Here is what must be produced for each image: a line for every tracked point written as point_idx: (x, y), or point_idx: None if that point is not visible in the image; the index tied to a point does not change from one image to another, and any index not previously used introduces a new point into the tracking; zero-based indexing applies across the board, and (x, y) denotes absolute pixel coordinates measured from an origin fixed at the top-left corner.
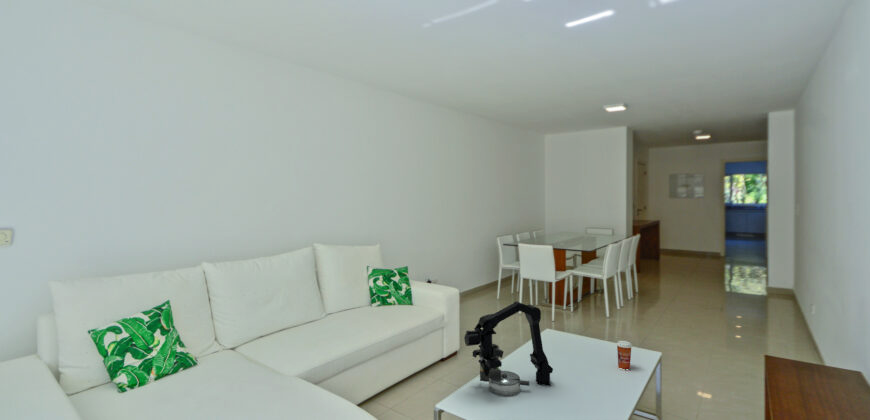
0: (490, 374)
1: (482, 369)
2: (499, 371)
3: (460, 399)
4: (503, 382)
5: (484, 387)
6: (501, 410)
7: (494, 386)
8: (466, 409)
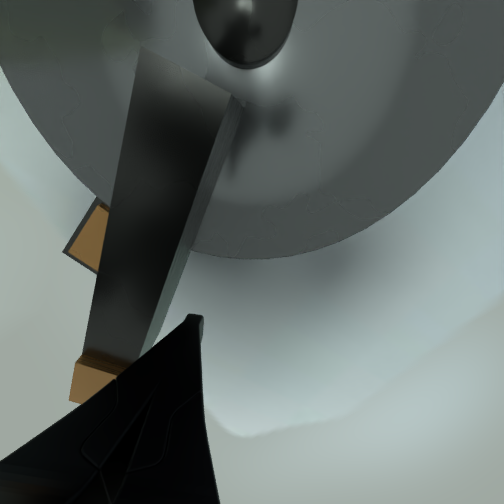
0: (176, 270)
1: (78, 378)
2: (219, 132)
3: (231, 385)
4: (385, 180)
5: None
6: (466, 301)
7: None
8: (325, 406)
